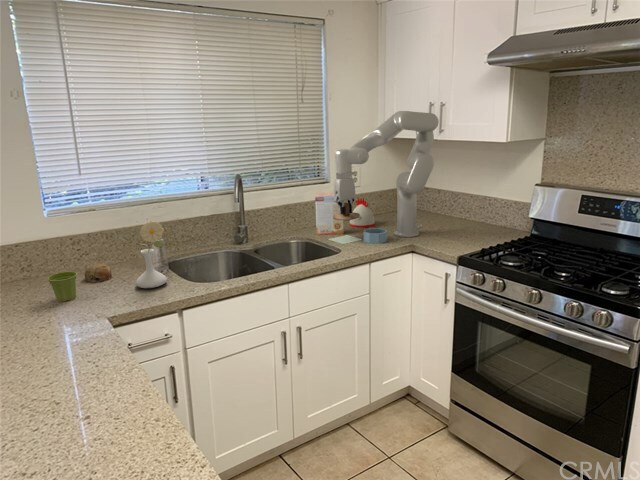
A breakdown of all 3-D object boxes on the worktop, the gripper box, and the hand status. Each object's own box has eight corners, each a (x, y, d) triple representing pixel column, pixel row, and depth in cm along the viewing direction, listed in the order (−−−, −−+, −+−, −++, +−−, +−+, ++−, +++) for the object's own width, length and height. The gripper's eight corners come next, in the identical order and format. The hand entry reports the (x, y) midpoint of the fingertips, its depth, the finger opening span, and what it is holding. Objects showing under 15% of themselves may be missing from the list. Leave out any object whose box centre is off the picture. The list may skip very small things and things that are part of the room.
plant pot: (69, 304, 166) (65, 280, 163) (45, 303, 167) (40, 279, 165) (86, 294, 175) (82, 271, 172) (63, 293, 176) (59, 271, 174)
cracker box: (344, 232, 250) (343, 192, 244) (343, 235, 244) (342, 194, 239) (317, 232, 251) (316, 193, 246) (316, 235, 246) (314, 195, 240)
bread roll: (85, 291, 188) (81, 276, 183) (87, 273, 196) (83, 258, 191) (112, 287, 191) (108, 273, 186) (113, 270, 198) (110, 255, 193)
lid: (348, 212, 241) (347, 199, 239) (365, 216, 230) (364, 202, 228) (327, 217, 234) (326, 203, 232) (344, 221, 223) (343, 207, 221)
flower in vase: (130, 290, 177) (120, 225, 170) (145, 280, 187) (136, 217, 181) (163, 291, 175) (155, 225, 168) (176, 280, 186) (169, 217, 179)
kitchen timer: (359, 221, 273) (359, 195, 269) (379, 224, 264) (379, 197, 260) (344, 226, 263) (344, 199, 259) (365, 229, 254) (364, 202, 250)
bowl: (376, 236, 239) (376, 227, 238) (391, 241, 230) (391, 231, 229) (359, 240, 233) (359, 230, 232) (374, 245, 224) (374, 235, 223)
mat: (347, 235, 243) (347, 234, 243) (362, 240, 233) (362, 239, 233) (328, 239, 236) (328, 239, 236) (342, 244, 227) (342, 244, 227)
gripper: (352, 173, 234) (354, 209, 239) (325, 177, 225) (328, 215, 230) (362, 174, 228) (364, 211, 233) (335, 179, 219) (337, 218, 224)
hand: (346, 213), depth 231 cm, fingers closed on lid, 3 cm apart
